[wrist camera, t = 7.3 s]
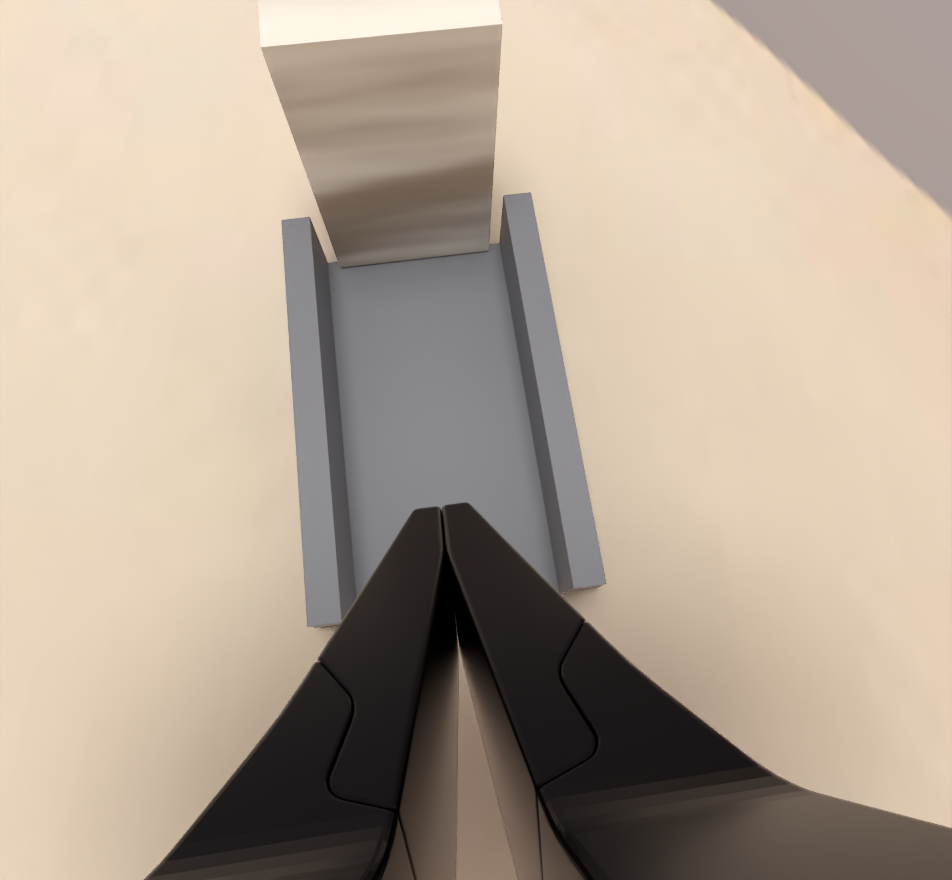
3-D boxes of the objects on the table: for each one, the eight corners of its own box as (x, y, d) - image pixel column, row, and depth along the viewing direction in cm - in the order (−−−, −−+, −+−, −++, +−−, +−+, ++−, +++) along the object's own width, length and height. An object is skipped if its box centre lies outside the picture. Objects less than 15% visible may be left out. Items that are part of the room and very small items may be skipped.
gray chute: (596, 586, 22) (622, 581, 19) (319, 627, 22) (290, 629, 18) (533, 250, 26) (544, 190, 23) (295, 277, 26) (267, 221, 22)
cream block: (488, 250, 25) (501, 23, 16) (340, 267, 25) (260, 47, 15) (474, 168, 26) (479, -92, 17) (332, 183, 26) (253, -72, 16)
